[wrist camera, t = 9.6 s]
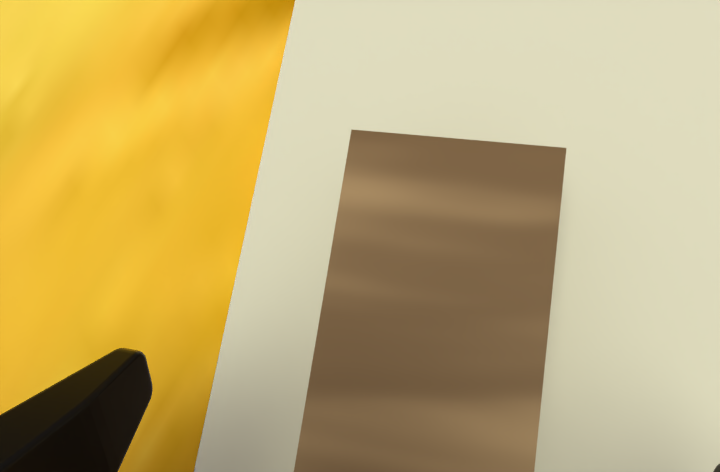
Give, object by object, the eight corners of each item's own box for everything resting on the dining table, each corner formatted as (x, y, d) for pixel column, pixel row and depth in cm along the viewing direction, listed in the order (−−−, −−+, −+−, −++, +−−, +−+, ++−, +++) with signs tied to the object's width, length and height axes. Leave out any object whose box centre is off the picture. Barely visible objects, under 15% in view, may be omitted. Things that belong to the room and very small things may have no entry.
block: (351, 129, 16) (259, 677, 13) (566, 147, 14) (506, 743, 12) (370, 168, 18) (296, 625, 16) (551, 185, 17) (501, 676, 15)
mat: (961, 843, 13) (975, 857, 13) (167, 619, 17) (160, 624, 17) (960, -151, 18) (971, -163, 17) (333, -157, 21) (331, -167, 21)
